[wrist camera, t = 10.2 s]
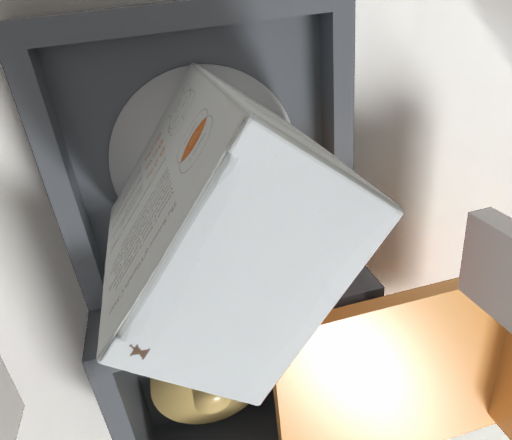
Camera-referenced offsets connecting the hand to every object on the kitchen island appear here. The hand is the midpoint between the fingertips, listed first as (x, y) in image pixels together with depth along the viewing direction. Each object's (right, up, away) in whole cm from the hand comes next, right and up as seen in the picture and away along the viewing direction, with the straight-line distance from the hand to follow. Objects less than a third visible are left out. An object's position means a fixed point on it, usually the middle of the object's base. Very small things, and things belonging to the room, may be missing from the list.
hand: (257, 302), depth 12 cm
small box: (-3, +5, +9) cm, 11 cm away
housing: (-2, +1, +13) cm, 13 cm away
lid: (+8, -6, +12) cm, 15 cm away
